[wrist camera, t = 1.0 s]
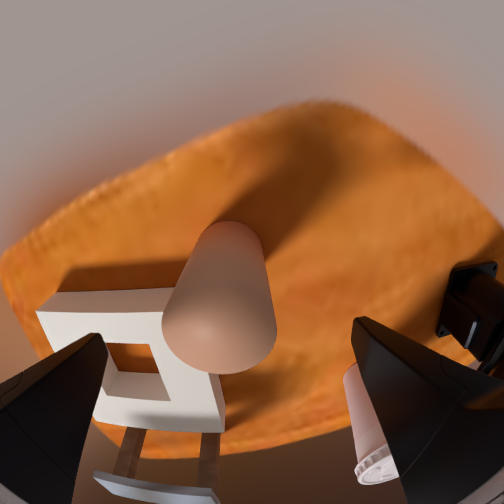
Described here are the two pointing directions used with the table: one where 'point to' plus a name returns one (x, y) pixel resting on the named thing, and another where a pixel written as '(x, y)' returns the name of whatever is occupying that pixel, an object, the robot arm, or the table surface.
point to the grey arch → (168, 496)
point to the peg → (222, 303)
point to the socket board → (131, 383)
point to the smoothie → (367, 433)
